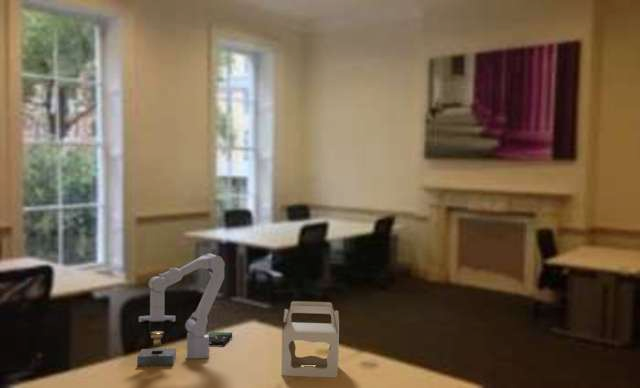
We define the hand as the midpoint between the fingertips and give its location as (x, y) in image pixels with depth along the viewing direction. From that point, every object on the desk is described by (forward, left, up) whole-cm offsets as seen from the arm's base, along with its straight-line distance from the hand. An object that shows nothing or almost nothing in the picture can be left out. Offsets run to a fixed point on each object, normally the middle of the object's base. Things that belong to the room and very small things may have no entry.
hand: (157, 338), depth 244 cm
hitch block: (0, 0, -10) cm, 10 cm away
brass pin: (0, 0, -3) cm, 3 cm away
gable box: (-62, +15, -10) cm, 65 cm away
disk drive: (-23, -29, -10) cm, 39 cm away
